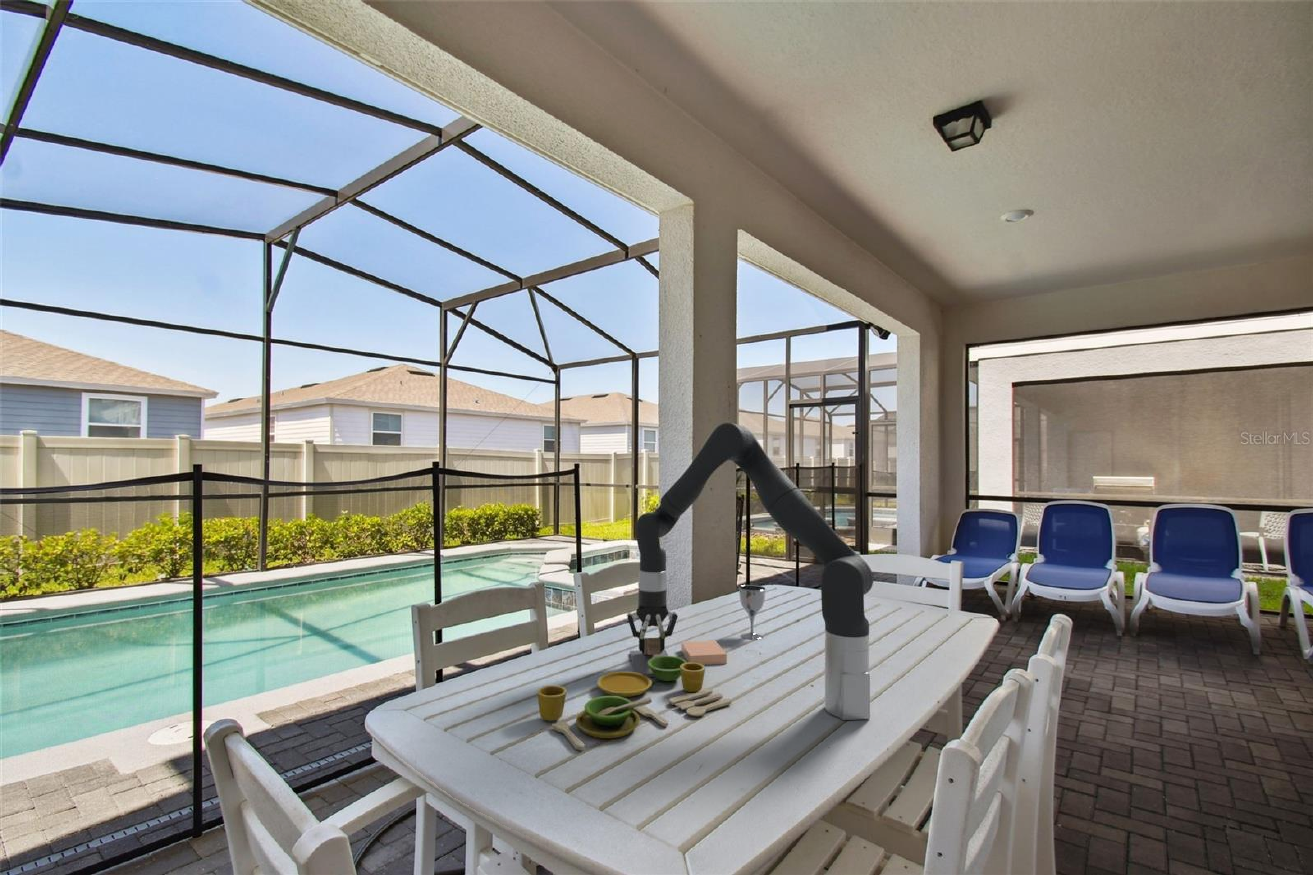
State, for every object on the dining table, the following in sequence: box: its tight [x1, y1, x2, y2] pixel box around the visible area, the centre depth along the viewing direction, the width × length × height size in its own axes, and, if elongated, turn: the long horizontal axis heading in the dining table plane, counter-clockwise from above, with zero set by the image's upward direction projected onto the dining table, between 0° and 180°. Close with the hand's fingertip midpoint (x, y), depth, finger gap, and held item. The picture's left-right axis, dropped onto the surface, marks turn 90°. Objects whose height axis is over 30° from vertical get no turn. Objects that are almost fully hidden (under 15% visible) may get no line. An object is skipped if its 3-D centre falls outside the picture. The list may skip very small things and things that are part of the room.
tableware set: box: [536, 655, 732, 751], centre depth 130 cm, size 41×28×6 cm
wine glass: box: [738, 584, 766, 641], centre depth 183 cm, size 8×8×15 cm
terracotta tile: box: [680, 640, 728, 666], centre depth 163 cm, size 3×10×12 cm
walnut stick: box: [643, 637, 661, 655], centre depth 157 cm, size 14×3×4 cm, turn 8°
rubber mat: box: [629, 649, 669, 678], centre depth 156 cm, size 18×10×1 cm, turn 7°
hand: (651, 651), depth 156 cm, fingers open, 4 cm apart
